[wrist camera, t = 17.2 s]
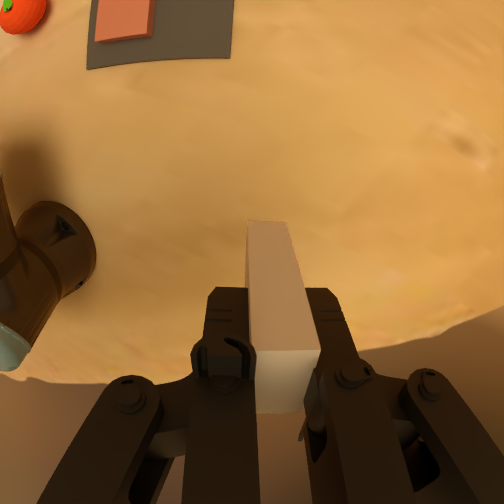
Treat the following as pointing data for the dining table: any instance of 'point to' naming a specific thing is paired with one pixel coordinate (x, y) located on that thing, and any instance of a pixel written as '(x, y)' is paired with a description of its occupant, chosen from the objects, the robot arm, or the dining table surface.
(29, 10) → the clementine
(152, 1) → the block
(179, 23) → the mat
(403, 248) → the dining table surface
